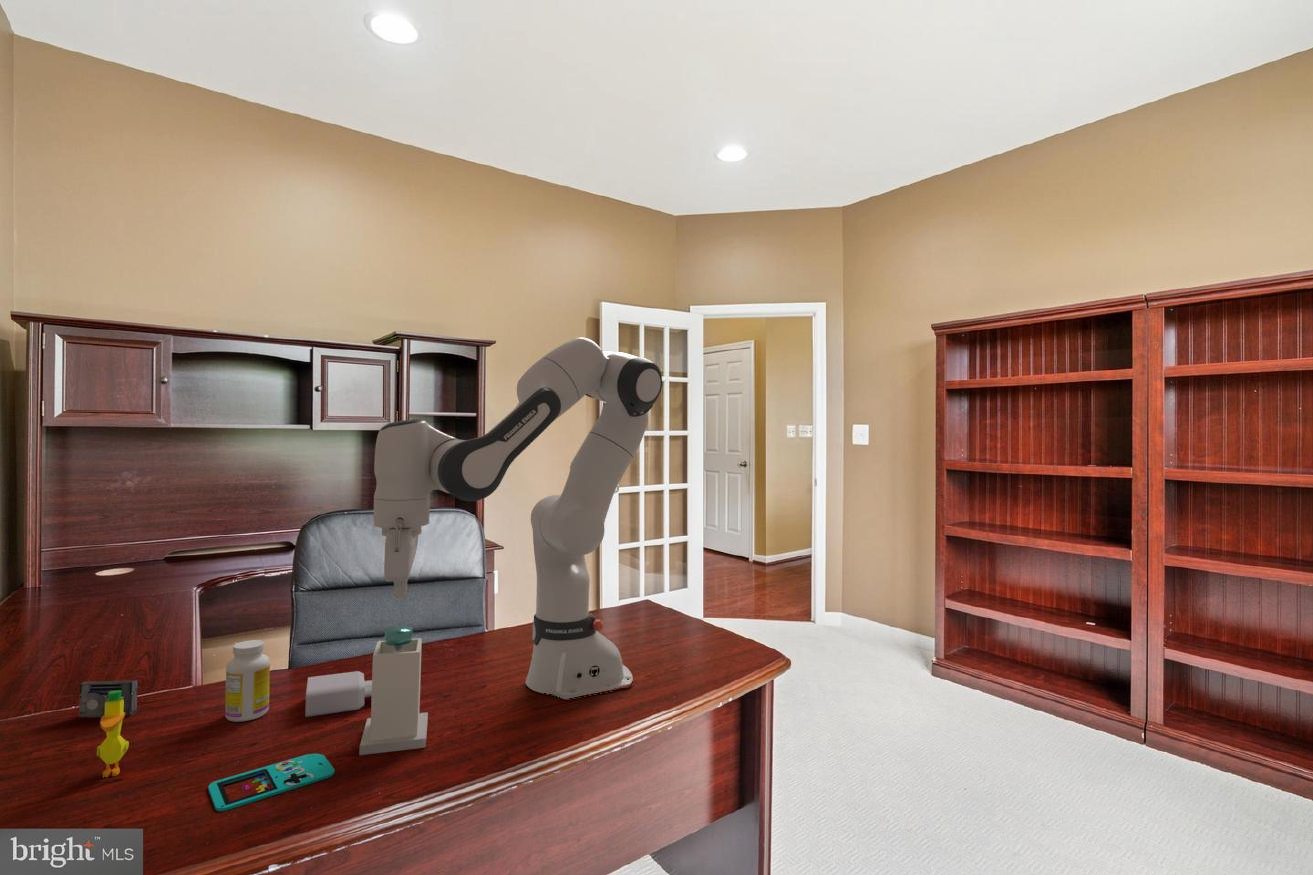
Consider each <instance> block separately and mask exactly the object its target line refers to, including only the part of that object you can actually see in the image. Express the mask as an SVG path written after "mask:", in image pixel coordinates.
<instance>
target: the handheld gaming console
mask: <svg viewBox="0 0 1313 875" xmlns="http://www.w3.org/2000/svg"><path fill="white" fill-rule="evenodd" d="M261 774H263V775H261ZM334 774H335V768H334V767H333V765H332V764H331V763H330V761H329V760H328V759H327V757H326V756H325V755H324V754H322V753H321V754H320V753H309V754H304V755H301V756H296V757H294V758H289V759H287V760H283V761H280V762H277V763H273V764H269V765H265V766H262V767H260V768H259V767H258V768H256V769H253V770H249V771H246V772H242V773H238V774H236V775H232V776H228V777H225V778H222V779H218V780H216V781H215V780H214V781H212V782H211V783H209V785H208V787H207V788H208V794H209V796H210V798H211V801H212V803H213V806H214V809H215V810H216V811H218V812H226V811H229V810H233V809H236V808H238V807H241V806H244V805H248V804H252V803H254V802H257V801H260V800H263V799H266V798H269V797H272V796H276V795H278V794H282V793H285V792H289V791H291V790H294V789H295V790H296V789H297V788H301V787H304V786H307V785H310V784H313V783H316V782H319V781H323V780H325V779H329V778H331V777H333V776H334ZM252 777H254V780H253V781H251V783H252V784H255V783H259V782H260V784H261V785H258V787H257V788H255V791H256V793H253V794H250V795H247V796H244V797H240V798H238V799H234V800H230V799H229V796H228V794H227V792H226V789H225V787H224V785H228V784H231V783H234V782H235V783H236V782H238V781H241V780H245V779H248V778H252ZM242 786H243V787H242V788H241V789H245V790H246V791H248V790H250V787H249V784H245V785H242ZM244 786H245V788H244Z"/></svg>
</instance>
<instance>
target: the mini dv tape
mask: <svg viewBox="0 0 1313 875" xmlns="http://www.w3.org/2000/svg"><path fill="white" fill-rule="evenodd" d="M118 690H121V691H122V693H121V696H122V697H124V698H123V700H124V711H123V712H124V713H125V716H124V717H132V716H133V715H135V714H136V713H137V712H138V680H134V679H133V680H106V681H105V680H103V681H102V680H101V681H99V680H97V681H84V682H82V683H80V684H79V698H78V699H79V701H78V702H79V704H78V709H79V710H78V718H79V717H87V718H95V717H94V716H98V717H97V718H102V716H104V715H105V703H106V701H105V700H106V699H109V696H108V693H109V692H112V691H118ZM131 715H132V716H131Z"/></svg>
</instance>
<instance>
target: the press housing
mask: <svg viewBox="0 0 1313 875" xmlns="http://www.w3.org/2000/svg"><path fill="white" fill-rule="evenodd" d="M422 640H423V638H419V637H418V638H412V642H410V643H408V644H405V645H403V652H396V653H393V646H391V645H386V644H385V640H377V642H376V645H375V649H374V651H373V653H372V654H373V655H372V667H371V668H372V670H371V671H372V674H371V680H372V696H371V701H370V704H371V708H370V717H368V718H367V719H366V722H365V726H364V729H363V733H362V736H361V741H360V744H359V754H358V755H359V756H364V755H371V754H372V755H375V754H381V753H388V752H389V753H391V752H397V751H399V752H400V751H407V750H416V749H423V748H424V749H425V748H426V747H427V746H426V745H427V732H428V721H429V719H428V717H429V712H428V711H427V712H420V705H421V675H422V674H421V672H422V648H423V647H422V642H423V641H422Z"/></svg>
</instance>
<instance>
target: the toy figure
mask: <svg viewBox="0 0 1313 875" xmlns="http://www.w3.org/2000/svg"><path fill="white" fill-rule="evenodd" d="M121 693H122V691H121V690H118V691H112V692H109V693H108V696H109V699H106V700H105V701H106V703H105V715H104V716H102V717H100V721H99V723H100V728H101V729H102V730H103V731H104V732H105V734H106V738H105V739H104V740H103V741H102V742H101V744H100V745H99V746H97V747H96V757H99V758H100V759H101V760H102V761H103V762H104V763H105V764H106V765H105V766H106V767H105V768H106V769H104V770H103V771H102V778H103V779H104V777H106V778H109V777H110V776H112V777H116V776H118V775H119V774H120V773H121V772H120V771H121V770H120V767H119V761H121V759H122V758H123V756H124V755H125V753H126V752H127V751H128V749H129V746H130V741H128V740H126V739H125V738H123V737H122V736H121V730H122V725H123V720H124V718H125V717H126V716H125V713H124V712H123V711H124V700H123V698H124V697H122V696H121ZM113 764H114V768H112V769H111V767H110V766H111V765H113Z"/></svg>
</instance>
